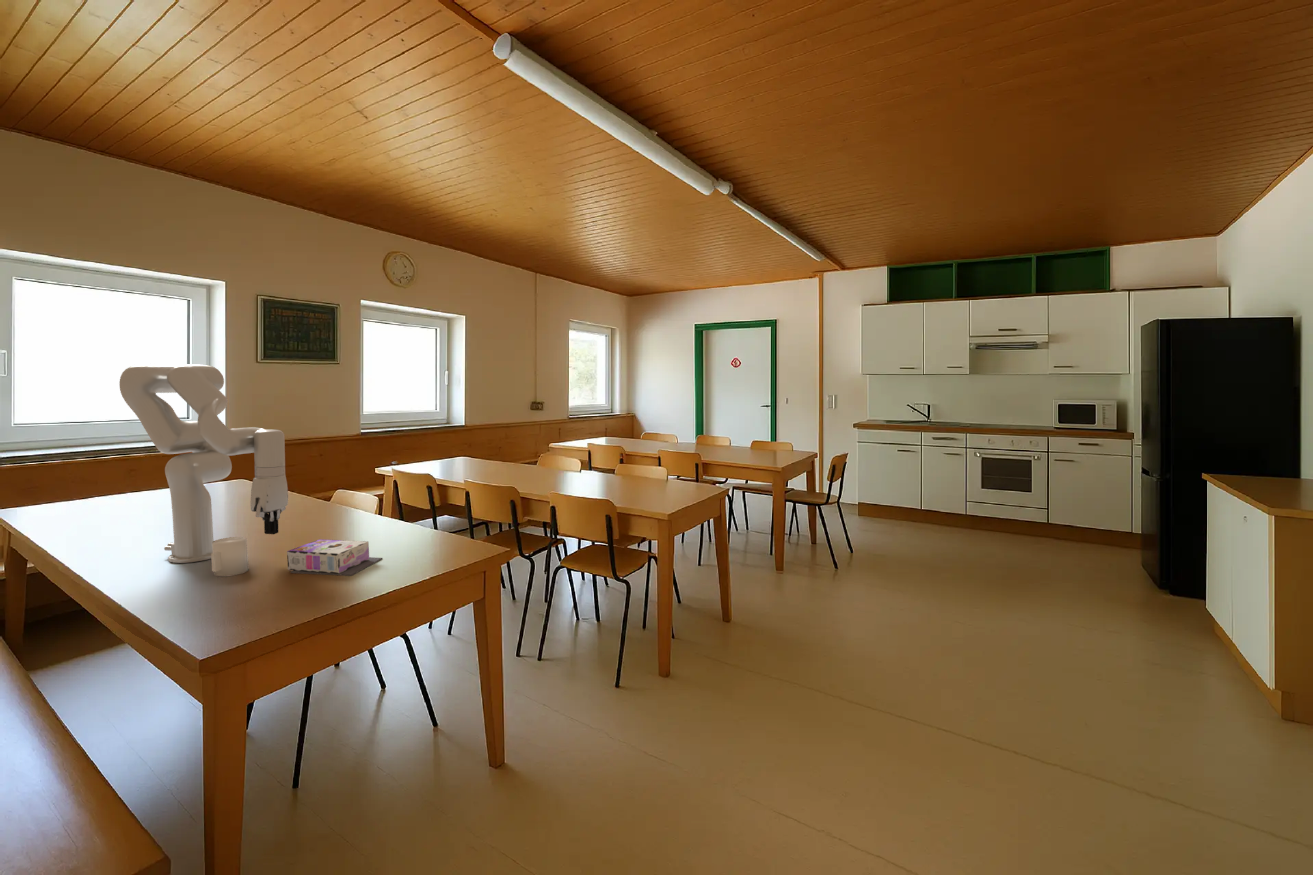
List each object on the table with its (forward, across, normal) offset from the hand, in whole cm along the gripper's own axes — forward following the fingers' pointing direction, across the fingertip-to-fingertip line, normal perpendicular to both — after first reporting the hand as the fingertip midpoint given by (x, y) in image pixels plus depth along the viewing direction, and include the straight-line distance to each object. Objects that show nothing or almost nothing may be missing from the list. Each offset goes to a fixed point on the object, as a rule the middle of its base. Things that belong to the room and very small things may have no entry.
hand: (271, 533), depth 180 cm
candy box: (+5, 0, +10) cm, 12 cm away
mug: (+9, +9, -5) cm, 14 cm away
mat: (+8, 0, +21) cm, 22 cm away
